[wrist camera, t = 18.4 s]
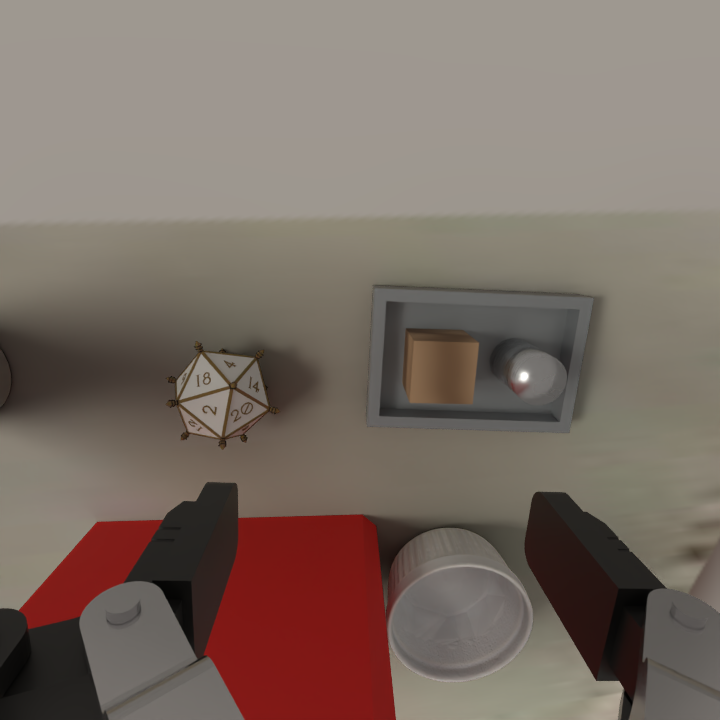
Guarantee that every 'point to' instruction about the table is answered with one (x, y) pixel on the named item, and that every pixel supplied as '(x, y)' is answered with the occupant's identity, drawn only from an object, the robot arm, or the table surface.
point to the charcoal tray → (489, 327)
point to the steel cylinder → (528, 371)
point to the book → (266, 612)
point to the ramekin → (455, 607)
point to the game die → (221, 395)
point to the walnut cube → (439, 366)
